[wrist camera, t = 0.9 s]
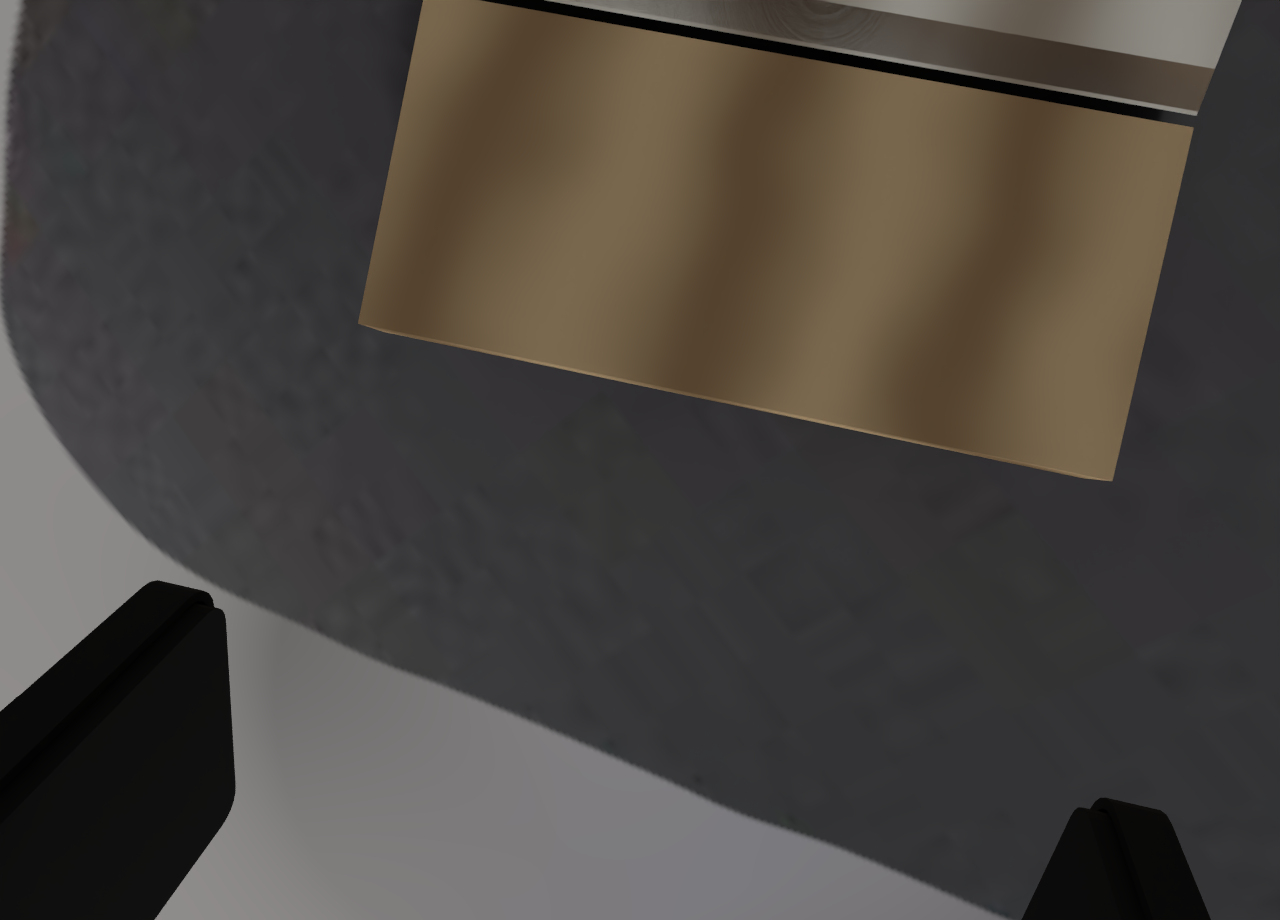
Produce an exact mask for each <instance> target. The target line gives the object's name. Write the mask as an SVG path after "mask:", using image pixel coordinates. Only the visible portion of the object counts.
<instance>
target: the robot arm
mask: <svg viewBox="0 0 1280 920" xmlns="http://www.w3.org/2000/svg"><path fill="white" fill-rule="evenodd" d="M234 796H235V770H234V752H233V735H232V718H231V702H230V684H229V668H228V650H227V632H226V619H225V614H224V612H223V611H222V610H221V609H219V608H215V607H214V604H213V599H212V597H211V596H210V594H209V593H207V592H205V591H202V590H198V589H193V588H189V587H184V586H180V585H175V584H171V583H167V582H162V581H158V580H157V581H152V582H149V583H148V584H146V585H145V586H143V587H142V588H141V589H140V590H139V591H138V592H136V593H135V594H134V595H133V596H132V597H131V598H130V599H128V600H127V601H126V602H125V603H124V604H123V605H122V606H121V607H119V608H118V609H117V610H116V611H115V612H114V613H113V614H111V616H109V617H108V618H107V619H106V620H105V621H104V622H102V623H101V624H100V625H99V626H98V627H97V628H96V629H94V630H93V631H92V632H91V633H90V634H89V635H88V636H87V637H85V638H84V639H83V640H82V641H81V642H80V643H79V644H77V645H76V646H75V647H74V648H73V649H72V650H71V651H69V652H68V653H67V654H66V655H65V656H64V657H63V658H62V659H60V660H59V661H58V662H57V663H56V664H55V665H54V666H53V667H51V668H50V669H49V670H48V671H47V672H46V673H44V674H43V675H42V676H41V677H40V678H39V679H38V680H37V681H35V682H34V683H33V684H32V685H31V686H30V687H29V688H28V689H26V690H25V691H24V692H23V693H22V694H21V695H19V696H18V697H16V698H15V699H14V700H13V701H12V702H11V703H10V704H8V705H7V706H6V707H5V708H4V709H3V710H2V711H1V712H0V920H154V919H155V918H156V917H157V915H158V914H159V913H160V911H161V910H162V908H163V907H164V906H165V904H166V903H167V901H168V900H169V898H170V897H171V896H172V894H173V893H174V892H175V890H176V889H177V887H178V886H179V885H180V883H181V882H182V880H183V879H184V878H185V876H186V875H187V874H188V872H189V871H190V869H191V868H192V866H193V865H194V864H195V862H196V861H197V860H198V858H199V857H200V855H201V854H202V853H203V851H204V850H205V849H206V847H207V846H208V844H209V843H210V842H211V840H212V839H213V837H214V836H215V835H216V833H217V832H218V830H219V829H220V828H221V826H222V825H223V823H224V822H225V820H226V818H227V816H228V814H229V812H230V810H231V807H232V804H233V801H234ZM1022 920H1211V919H1210V916H1209V914H1208V912H1207V909H1206V907H1205V904H1204V902H1203V899H1202V897H1201V894H1200V892H1199V890H1198V887H1197V885H1196V882H1195V880H1194V877H1193V875H1192V872H1191V870H1190V868H1189V865H1188V863H1187V860H1186V858H1185V855H1184V853H1183V851H1182V848H1181V846H1180V843H1179V841H1178V838H1177V836H1176V833H1175V831H1174V829H1173V826H1172V824H1171V822H1170V820H1169V818H1168V817H1167V815H1166V814H1165V813H1163V812H1162V811H1161V810H1157V809H1152V808H1148V807H1144V806H1139V805H1135V804H1131V803H1126V802H1122V801H1118V800H1113V799H1109V798H1099V799H1098V800H1097V801H1095V802H1094V804H1093V805H1092V807H1091V809H1086V808H1079V807H1078V808H1077V809H1076V810H1074V812H1073V814H1072V815H1071V817H1070V819H1069V821H1068V823H1067V825H1066V828H1065V830H1064V832H1063V834H1062V836H1061V838H1060V840H1059V842H1058V844H1057V846H1056V849H1055V851H1054V853H1053V855H1052V857H1051V859H1050V861H1049V863H1048V865H1047V868H1046V870H1045V872H1044V874H1043V876H1042V878H1041V880H1040V882H1039V884H1038V886H1037V889H1036V891H1035V893H1034V895H1033V897H1032V899H1031V901H1030V903H1029V905H1028V908H1027V910H1026V912H1025V914H1024V916H1023V918H1022Z"/></svg>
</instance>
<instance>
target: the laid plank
mask: <svg viewBox="0 0 1280 920" xmlns="http://www.w3.org/2000/svg"><path fill="white" fill-rule="evenodd" d="M546 1H552V2H558V3H563V4H569V5H575V6H580V7H586V8H592V9H597V10H603V11H609V12H614V13H620V14H625V15H631V16H637V17H642V18H648V19H654V20H659V21H665V22H671V23H676V24H682V25H687V26H693V27H699V28H704V29H710V30H716V31H721V32H727V33H733V34H738V35H744V36H750V37H755V38H761V39H766V40H772V41H778V42H783V43H789V44H795V45H800V46H806V47H812V48H817V49H823V50H829V51H834V52H840V53H845V54H851V55H857V56H862V57H868V58H874V59H879V60H885V61H891V62H896V63H902V64H907V65H913V66H919V67H924V68H930V69H936V70H941V71H947V72H953V73H958V74H964V75H970V76H975V77H981V78H986V79H992V80H998V81H1003V82H1009V83H1015V84H1020V85H1026V86H1032V87H1037V88H1043V89H1048V90H1054V91H1060V92H1065V93H1071V94H1077V95H1082V96H1088V97H1094V98H1099V99H1105V100H1111V101H1116V102H1122V103H1127V104H1133V105H1139V106H1144V107H1150V108H1156V109H1161V110H1167V111H1173V112H1178V113H1184V114H1190V115H1195V116H1197V113H1198V110H1199V108H1200V105H1201V103H1202V100H1203V98H1204V95H1205V93H1206V90H1207V87H1208V85H1209V82H1210V80H1211V77H1212V75H1213V72H1214V70H1215V67H1216V65H1217V62H1218V59H1219V57H1220V54H1221V52H1222V49H1223V47H1224V44H1225V42H1226V39H1227V36H1228V34H1229V31H1230V29H1231V26H1232V24H1233V21H1234V19H1235V16H1236V14H1237V11H1238V8H1239V6H1240V3H1241V1H1242V0H546Z"/></svg>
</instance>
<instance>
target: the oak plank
mask: <svg viewBox="0 0 1280 920" xmlns="http://www.w3.org/2000/svg"><path fill="white" fill-rule="evenodd" d="M1192 133H1193V127H1187V126H1182V125H1176V124H1170V123H1165V122H1159V121H1153V120H1148V119H1142V118H1137V117H1131V116H1125V115H1120V114H1114V113H1109V112H1103V111H1097V110H1092V109H1086V108H1081V107H1075V106H1069V105H1064V104H1058V103H1053V102H1047V101H1041V100H1036V99H1030V98H1025V97H1019V96H1013V95H1008V94H1002V93H996V92H991V91H985V90H980V89H974V88H968V87H963V86H957V85H952V84H946V83H940V82H935V81H929V80H924V79H918V78H912V77H907V76H901V75H896V74H890V73H884V72H879V71H873V70H867V69H862V68H856V67H851V66H845V65H839V64H834V63H828V62H823V61H817V60H811V59H806V58H800V57H795V56H789V55H783V54H778V53H772V52H767V51H761V50H755V49H750V48H744V47H739V46H733V45H727V44H722V43H716V42H710V41H705V40H699V39H694V38H688V37H682V36H677V35H671V34H666V33H660V32H654V31H649V30H643V29H638V28H632V27H626V26H621V25H615V24H610V23H604V22H598V21H593V20H587V19H581V18H576V17H570V16H565V15H559V14H553V13H548V12H542V11H537V10H531V9H525V8H520V7H514V6H509V5H503V4H497V3H492V2H486V1H481V0H423V4H422V9H421V14H420V19H419V23H418V28H417V33H416V38H415V43H414V48H413V53H412V58H411V63H410V68H409V73H408V78H407V83H406V88H405V93H404V98H403V103H402V108H401V113H400V118H399V123H398V128H397V133H396V138H395V143H394V148H393V153H392V158H391V163H390V168H389V173H388V177H387V182H386V187H385V192H384V197H383V202H382V207H381V212H380V217H379V222H378V227H377V232H376V237H375V242H374V247H373V252H372V257H371V262H370V267H369V272H368V277H367V282H366V287H365V292H364V297H363V302H362V307H361V312H360V317H359V322H358V324H361V325H365V326H368V327H371V328H374V329H377V330H380V331H383V332H387V333H392V334H397V335H402V336H407V337H411V338H416V339H421V340H426V341H430V342H435V343H440V344H445V345H450V346H454V347H459V348H464V349H469V350H473V351H478V352H483V353H488V354H493V355H497V356H502V357H507V358H512V359H516V360H521V361H526V362H531V363H536V364H540V365H545V366H550V367H555V368H559V369H564V370H569V371H574V372H579V373H583V374H588V375H593V376H598V377H602V378H607V379H612V380H617V381H622V382H626V383H631V384H636V385H641V386H645V387H650V388H655V389H660V390H665V391H669V392H674V393H679V394H684V395H688V396H693V397H698V398H703V399H708V400H712V401H717V402H722V403H727V404H731V405H736V406H741V407H746V408H751V409H755V410H760V411H765V412H770V413H774V414H779V415H784V416H789V417H794V418H798V419H803V420H808V421H813V422H817V423H822V424H827V425H832V426H837V427H841V428H846V429H851V430H856V431H860V432H865V433H870V434H875V435H880V436H884V437H889V438H894V439H899V440H903V441H908V442H913V443H918V444H923V445H927V446H932V447H937V448H942V449H946V450H951V451H956V452H961V453H966V454H970V455H975V456H980V457H985V458H989V459H994V460H999V461H1004V462H1009V463H1013V464H1018V465H1023V466H1028V467H1032V468H1037V469H1042V470H1047V471H1052V472H1056V473H1061V474H1066V475H1071V476H1075V477H1080V478H1086V479H1097V480H1107V481H1112V480H1113V476H1114V472H1115V467H1116V463H1117V459H1118V454H1119V450H1120V446H1121V441H1122V437H1123V433H1124V428H1125V424H1126V420H1127V415H1128V411H1129V406H1130V402H1131V398H1132V393H1133V389H1134V385H1135V380H1136V376H1137V372H1138V367H1139V363H1140V359H1141V354H1142V350H1143V346H1144V341H1145V337H1146V333H1147V328H1148V324H1149V320H1150V315H1151V311H1152V307H1153V302H1154V298H1155V294H1156V289H1157V285H1158V281H1159V276H1160V272H1161V267H1162V263H1163V259H1164V254H1165V250H1166V246H1167V241H1168V237H1169V233H1170V228H1171V224H1172V220H1173V215H1174V211H1175V207H1176V202H1177V198H1178V194H1179V189H1180V185H1181V181H1182V176H1183V172H1184V168H1185V163H1186V159H1187V155H1188V150H1189V146H1190V142H1191V137H1192Z"/></svg>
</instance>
